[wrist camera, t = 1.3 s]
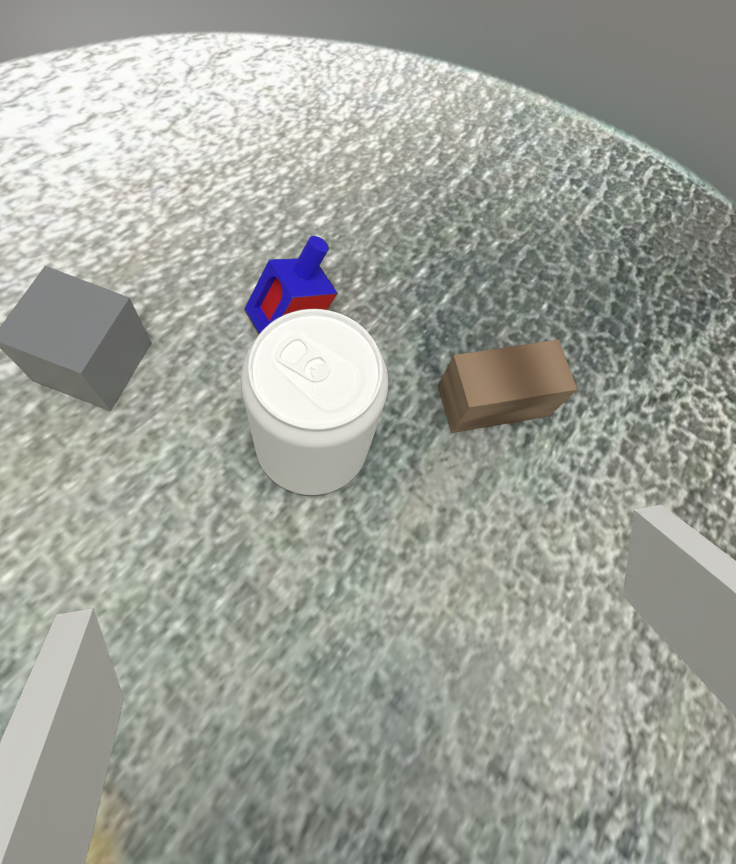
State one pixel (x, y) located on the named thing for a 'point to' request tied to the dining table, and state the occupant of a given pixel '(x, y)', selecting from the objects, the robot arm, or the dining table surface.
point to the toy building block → (291, 286)
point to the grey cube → (75, 337)
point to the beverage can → (313, 399)
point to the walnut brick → (505, 385)
